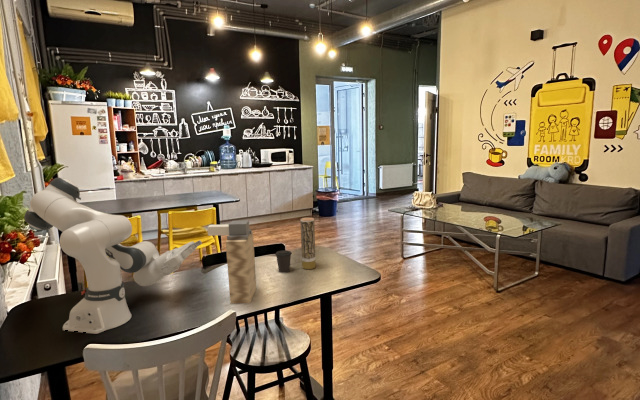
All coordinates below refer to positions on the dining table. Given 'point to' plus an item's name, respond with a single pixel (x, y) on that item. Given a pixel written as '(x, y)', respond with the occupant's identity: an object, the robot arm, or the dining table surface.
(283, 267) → the coffee cup
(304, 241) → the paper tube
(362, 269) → the dining table surface
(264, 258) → the dining table surface
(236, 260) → the beige zigzag patterned box
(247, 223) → the hammer
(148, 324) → the dining table surface
